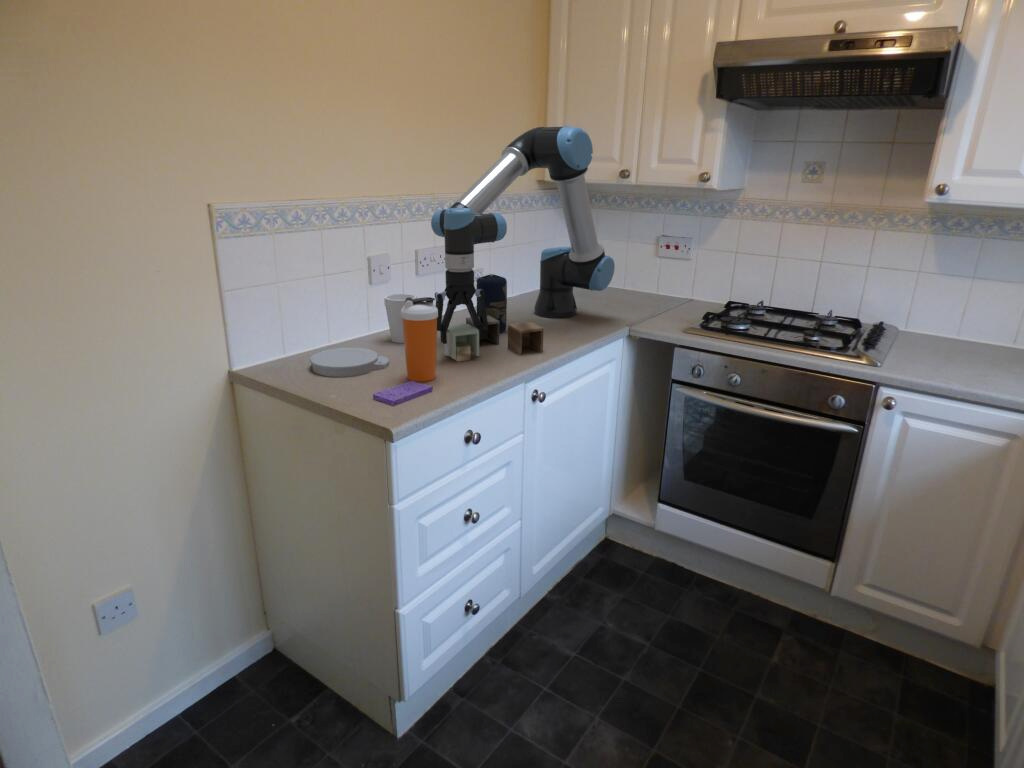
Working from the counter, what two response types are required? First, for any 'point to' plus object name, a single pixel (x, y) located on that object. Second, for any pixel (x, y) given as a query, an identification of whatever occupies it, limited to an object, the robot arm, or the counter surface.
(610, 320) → the counter surface
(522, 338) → the cover walnut
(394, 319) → the foam cup
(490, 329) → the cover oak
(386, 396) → the sponges
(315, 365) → the lid
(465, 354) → the maple cube
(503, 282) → the canister
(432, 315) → the shaker bottle
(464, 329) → the cover green
